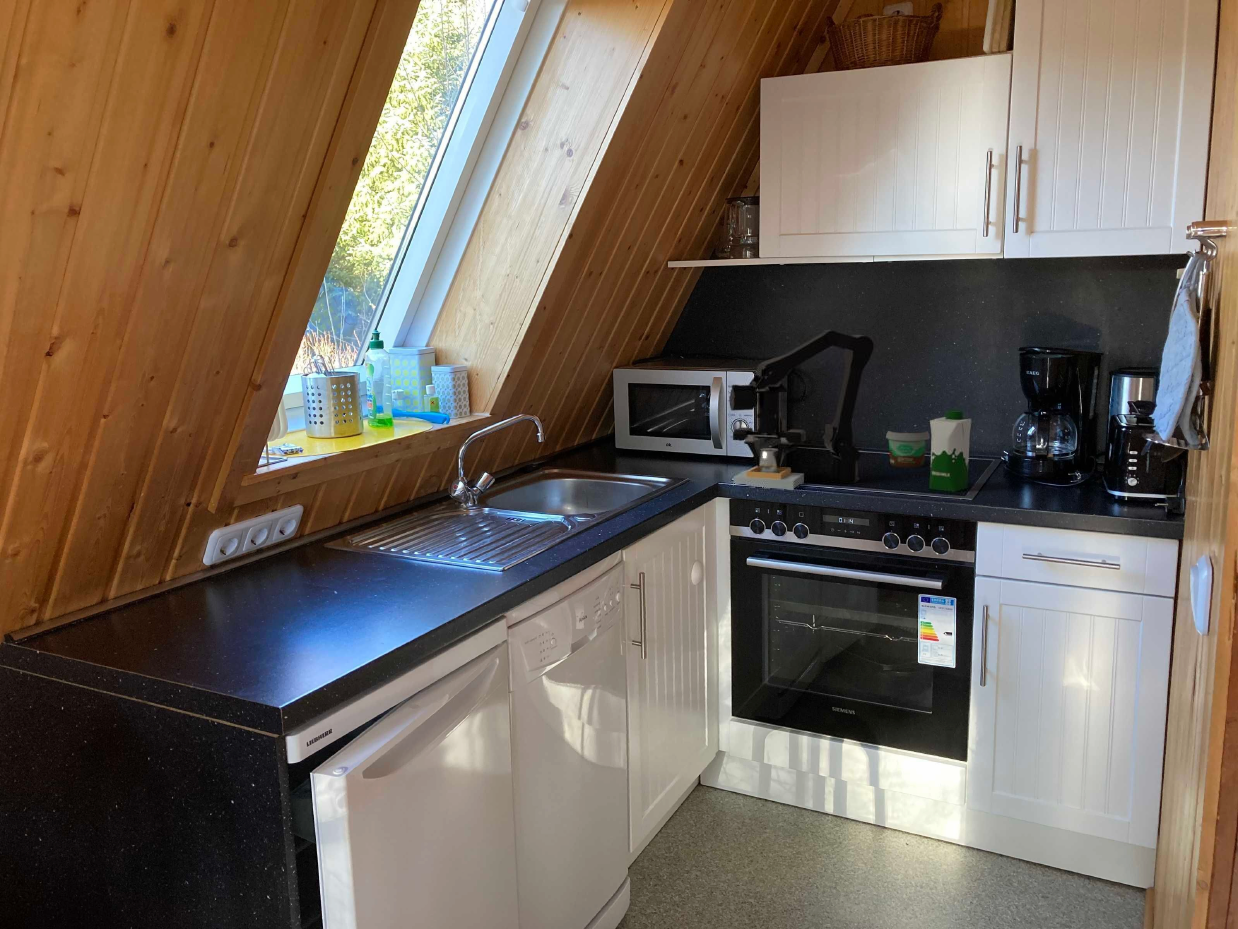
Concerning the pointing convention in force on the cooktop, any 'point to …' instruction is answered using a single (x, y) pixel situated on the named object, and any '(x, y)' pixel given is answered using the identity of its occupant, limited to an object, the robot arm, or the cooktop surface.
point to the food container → (907, 448)
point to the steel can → (768, 460)
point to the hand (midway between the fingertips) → (769, 466)
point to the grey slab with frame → (770, 478)
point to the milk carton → (950, 452)
